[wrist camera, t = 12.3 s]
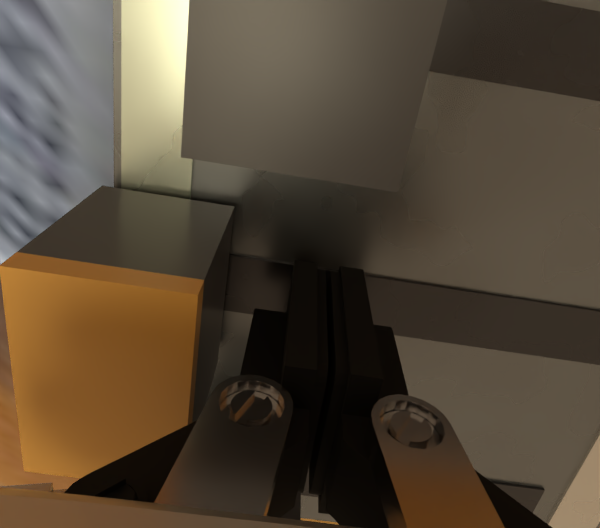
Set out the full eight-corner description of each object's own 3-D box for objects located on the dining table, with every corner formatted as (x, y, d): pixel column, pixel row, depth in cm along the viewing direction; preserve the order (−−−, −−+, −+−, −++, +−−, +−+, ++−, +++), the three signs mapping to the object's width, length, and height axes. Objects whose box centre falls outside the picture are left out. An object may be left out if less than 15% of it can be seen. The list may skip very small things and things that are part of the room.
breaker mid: (234, 206, 11) (198, 295, 8) (218, 360, 13) (182, 491, 9) (102, 185, 11) (-1, 265, 7) (104, 344, 13) (24, 471, 9)
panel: (861, 4, 11) (944, 2, 10) (562, 513, 18) (584, 555, 17) (138, -135, 10) (109, -161, 9) (131, 458, 17) (114, 497, 16)
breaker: (422, -119, 9) (506, -228, 5) (366, 133, 10) (397, 192, 7) (250, -153, 8) (205, -293, 5) (227, 110, 10) (180, 157, 7)
